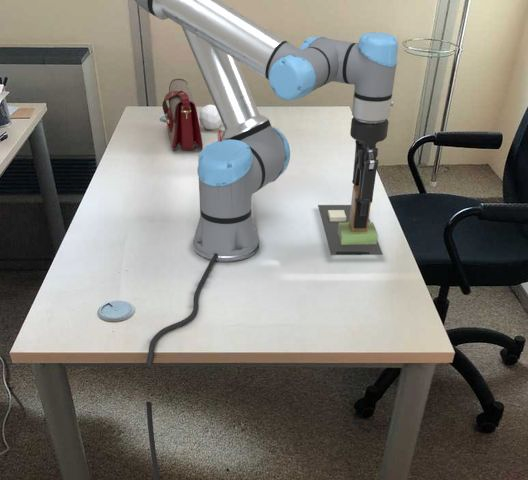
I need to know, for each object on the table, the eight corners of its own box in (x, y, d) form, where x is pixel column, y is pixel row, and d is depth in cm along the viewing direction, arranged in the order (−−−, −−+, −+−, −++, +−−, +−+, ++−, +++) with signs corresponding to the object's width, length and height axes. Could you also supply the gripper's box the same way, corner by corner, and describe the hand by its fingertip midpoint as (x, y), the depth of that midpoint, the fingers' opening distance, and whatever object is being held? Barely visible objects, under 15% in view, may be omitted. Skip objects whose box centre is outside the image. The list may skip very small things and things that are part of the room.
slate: (382, 260, 148) (383, 254, 148) (330, 260, 148) (330, 254, 147) (363, 210, 169) (363, 204, 168) (317, 210, 168) (317, 204, 167)
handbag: (163, 125, 217) (158, 70, 206) (194, 124, 219) (192, 69, 208) (169, 156, 195) (165, 97, 185) (204, 154, 197) (202, 96, 186)
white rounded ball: (205, 137, 216) (190, 117, 212) (219, 123, 219) (205, 103, 215) (217, 131, 210) (201, 111, 206) (231, 117, 213) (216, 96, 209)
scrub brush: (376, 244, 146) (383, 194, 139) (341, 244, 145) (346, 194, 138) (371, 232, 151) (378, 183, 143) (337, 232, 150) (342, 183, 143)
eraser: (345, 221, 160) (346, 217, 160) (329, 221, 160) (330, 217, 159) (343, 214, 163) (343, 209, 163) (327, 214, 163) (328, 210, 162)
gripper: (397, 132, 125) (381, 240, 139) (380, 105, 138) (368, 206, 152) (358, 132, 125) (347, 240, 139) (346, 105, 138) (336, 206, 152)
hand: (358, 222), depth 146 cm, fingers closed on scrub brush, 4 cm apart
